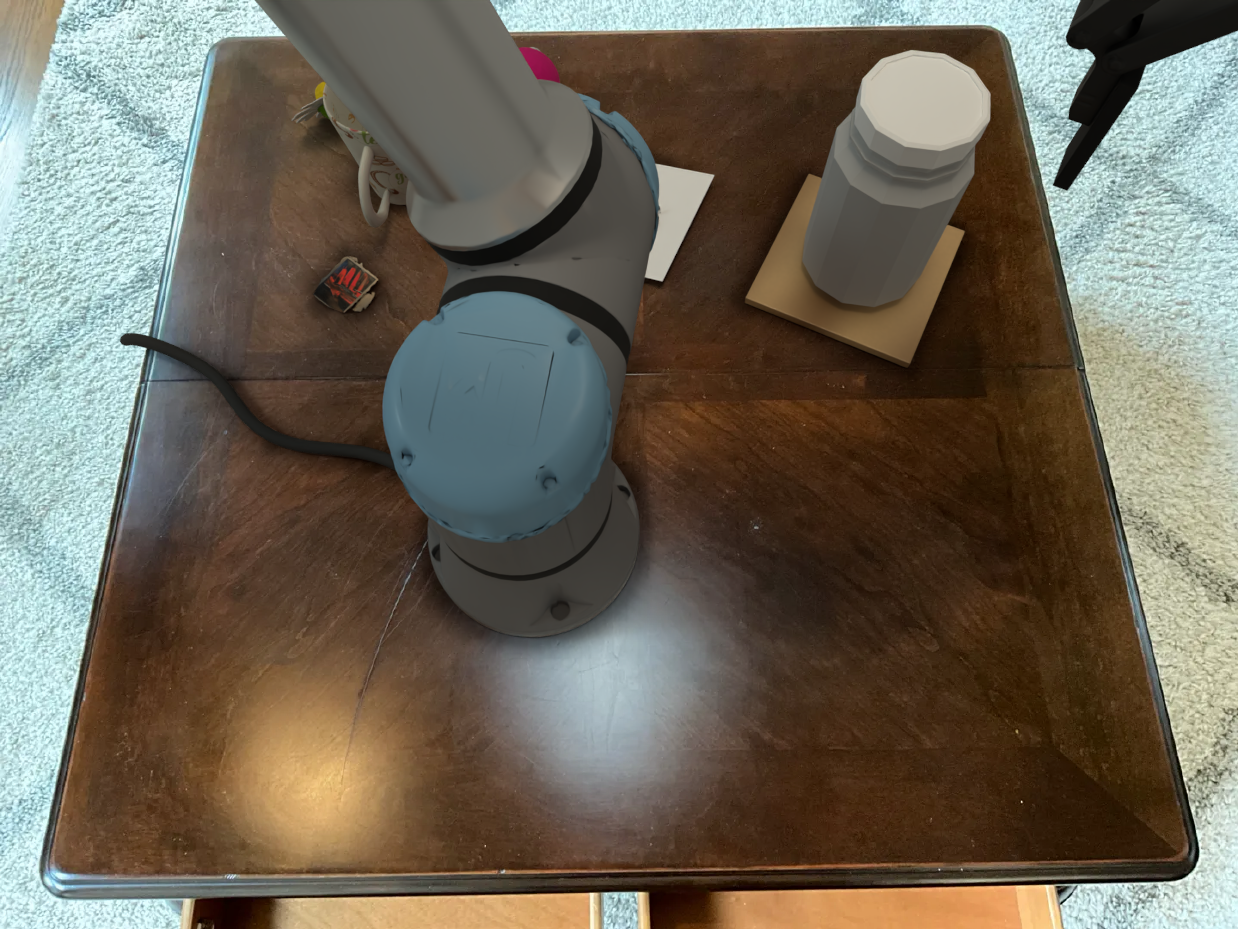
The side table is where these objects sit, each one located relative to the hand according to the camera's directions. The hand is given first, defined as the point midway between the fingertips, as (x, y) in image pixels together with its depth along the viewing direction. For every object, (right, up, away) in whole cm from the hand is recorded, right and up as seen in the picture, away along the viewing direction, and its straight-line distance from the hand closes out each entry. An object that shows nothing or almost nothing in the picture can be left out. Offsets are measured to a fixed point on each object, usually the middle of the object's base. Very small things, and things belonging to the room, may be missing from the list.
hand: (1205, 217), depth 43 cm
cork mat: (-9, +4, +31) cm, 32 cm away
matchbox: (-51, +3, +31) cm, 59 cm away
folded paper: (-28, +10, +33) cm, 45 cm away
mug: (-47, +11, +34) cm, 59 cm away
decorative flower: (-49, +18, +34) cm, 63 cm away
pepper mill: (-39, +7, +28) cm, 48 cm away
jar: (-9, +5, +30) cm, 32 cm away
